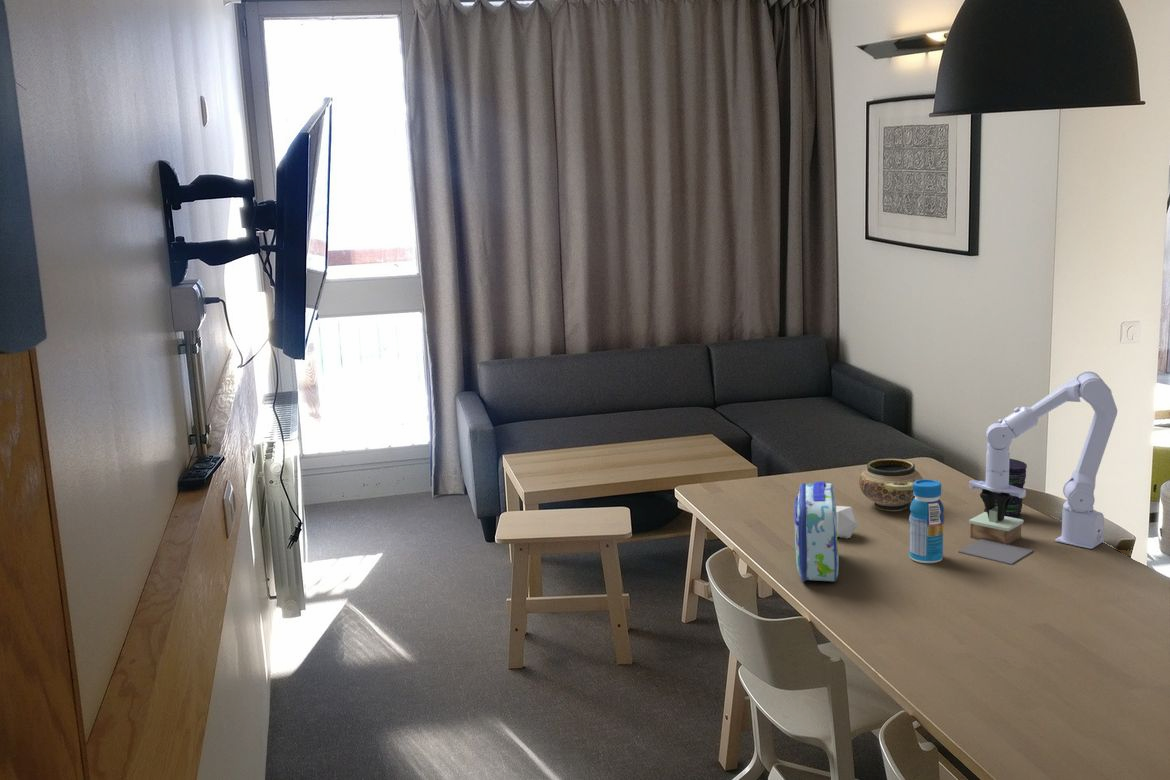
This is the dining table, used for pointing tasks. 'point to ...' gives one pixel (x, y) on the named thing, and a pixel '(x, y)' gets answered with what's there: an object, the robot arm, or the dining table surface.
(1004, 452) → the robot arm
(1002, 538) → the box
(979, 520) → the lid
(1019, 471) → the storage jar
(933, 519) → the beverage bottle
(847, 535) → the die
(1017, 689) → the dining table surface
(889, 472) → the ceramic bowl
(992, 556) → the mat
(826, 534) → the lunch box
